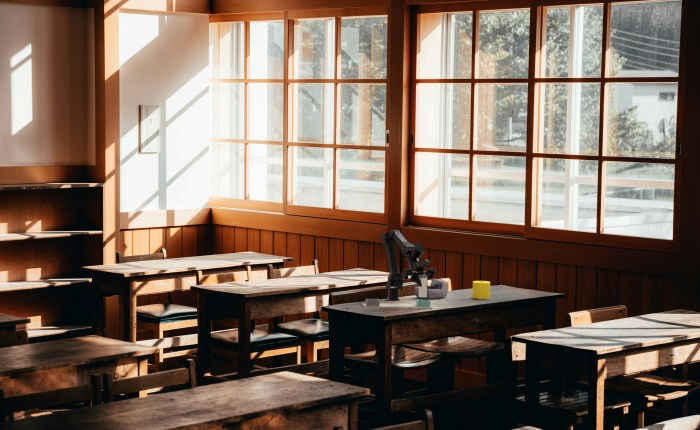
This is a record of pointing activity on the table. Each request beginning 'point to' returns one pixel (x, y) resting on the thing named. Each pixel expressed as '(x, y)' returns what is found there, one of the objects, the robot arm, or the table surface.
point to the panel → (419, 304)
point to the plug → (423, 286)
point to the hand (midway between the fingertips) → (424, 286)
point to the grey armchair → (434, 289)
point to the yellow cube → (481, 289)
